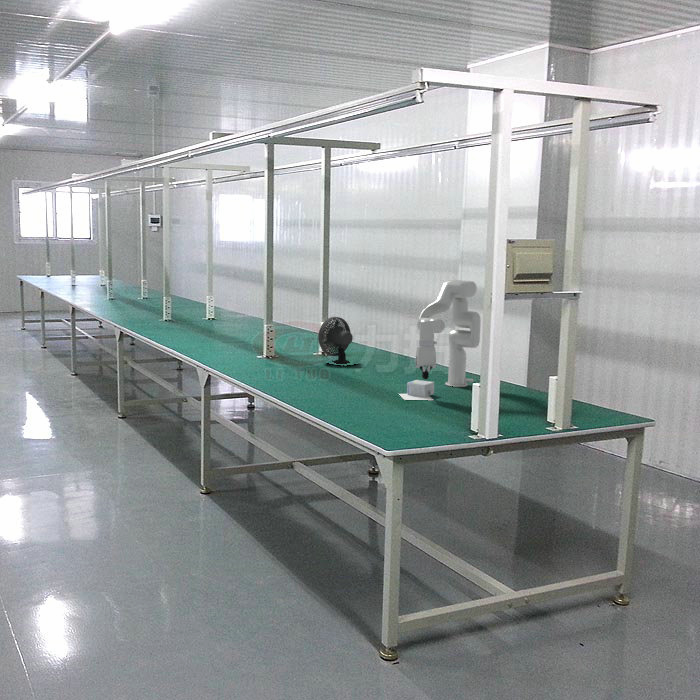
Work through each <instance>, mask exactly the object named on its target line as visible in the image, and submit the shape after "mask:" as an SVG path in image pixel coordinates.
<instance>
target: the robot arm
mask: <svg viewBox="0 0 700 700" xmlns="http://www.w3.org/2000/svg"><path fill="white" fill-rule="evenodd" d="M441 285H442V286H441V288H440V289H439V292H438V294H437V297H436V299H435V301H434V302H432V303H430V304H429V305H427V306H426V307H425V308H424V309H423V310H422V311H421V313H420V314H419V318H418V319H417V324H416V326H417V330H418V331H419V343H418V345H417V347H416V351H415V368H417V369H420V370H421V371H422V372H421V378H422V379H423V381H426V380H428V378H429V374H430V371H431V370H432V369H435V368H436V367H437V365H436V364H437V350H436V346H435V345H437V341H436V340H435V334H441V333H442V332H443V331H444V330H445V328H446V324H445V321H444V320H443V319H441V318H435V317H433V316H435V315H438V314H442V313H444V312H448V311H449V310H450V308H451V306H452V310H451V311H452V312H451V324H452V325H453V327H456V328H462V329H453V330H451V331H450V332H449V333H448V337H447V338H448V345H449V347H448V348H449V349H448V351H449V353H448V355H449V356H448V357H449V358H448V361H449V362H448V375H447V381H445V383H444V384H445V386H448V387H452V386H453V387H454V388H465V387H468V383H474V378H467V377H466V371H467V370H466V368H467V367H466V366H467V352H466V350H465V349H466V348H467V349H469V348H470V349H475V348H478V347H479V345H480V342H481V341H480V339H481V325H482V324H481V321H482V320H481V316H480V313H478V312H477V311H471V310H469V308H468V307H469V306H468V305H469V302H468V301H469V300H468V299H467V298H473V297H474V296H475V295H476V294H477V289H478V287H477V284H476V282H475V281H471V280H458V279H457V280H455V279H453V280H448V281H445V282H443V284H441ZM466 329H467V330H466ZM468 329H469V330H468ZM464 348H465V349H464Z"/></svg>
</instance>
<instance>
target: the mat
mask: <svg viewBox="0 0 700 700" xmlns="http://www.w3.org/2000/svg"><path fill="white" fill-rule="evenodd" d="M398 394H399V395H400V396H401V397H400V396H399V395H398V396H399V397H400V398H402V399H403V400H404V401H405V400H428V401H434V399H433V398H432V397H431V396H427V397H421V396H414V395H407V393H398Z"/></svg>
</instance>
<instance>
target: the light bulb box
mask: <svg viewBox="0 0 700 700" xmlns="http://www.w3.org/2000/svg"><path fill="white" fill-rule="evenodd" d="M406 394H407V395H414V396H421V397H427V396H429V397H431V396H433V395H434V394H435V382H434V381H428V380H420V379H415V380H411V381H408V382H407V383H406Z"/></svg>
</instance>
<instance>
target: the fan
mask: <svg viewBox="0 0 700 700" xmlns="http://www.w3.org/2000/svg"><path fill="white" fill-rule="evenodd" d="M353 337H354V336H353V334H352V333H351V328H350V326H349V323H348V322H347V321H346V320H345V319H343V318H342V317H339V316H332V317H329V318H327V319H326V320H324V321H323V323H322V324H321V325H320V328H319V331H318V338H317V339H318V343H319V348H320V349H321V350H322V352H323V353H324V354H326V355H327V356H332V357H337V356H338V359H334V360H335V361H333V360H331V361H332V362H334V363H336V364H347V363H350V362H349V361H350V360H348V359H347V356H346V355H347V353H346V350H347V349H348V347H349V345H350V344H352V342H353Z"/></svg>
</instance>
